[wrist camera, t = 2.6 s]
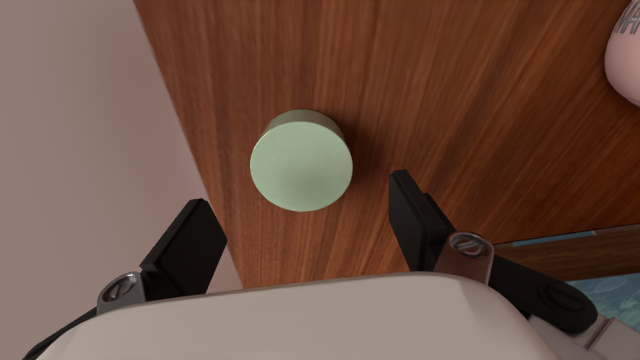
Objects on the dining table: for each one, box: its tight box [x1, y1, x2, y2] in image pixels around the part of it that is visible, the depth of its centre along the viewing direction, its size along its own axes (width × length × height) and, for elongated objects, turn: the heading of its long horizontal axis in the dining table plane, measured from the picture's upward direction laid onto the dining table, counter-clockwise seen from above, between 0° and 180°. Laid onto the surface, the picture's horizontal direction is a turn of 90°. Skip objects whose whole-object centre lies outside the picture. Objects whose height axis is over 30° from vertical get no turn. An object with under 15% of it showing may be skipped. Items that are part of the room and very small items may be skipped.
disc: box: [250, 109, 353, 211], centre depth 17 cm, size 7×7×3 cm
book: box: [492, 224, 640, 360], centre depth 28 cm, size 23×18×5 cm
